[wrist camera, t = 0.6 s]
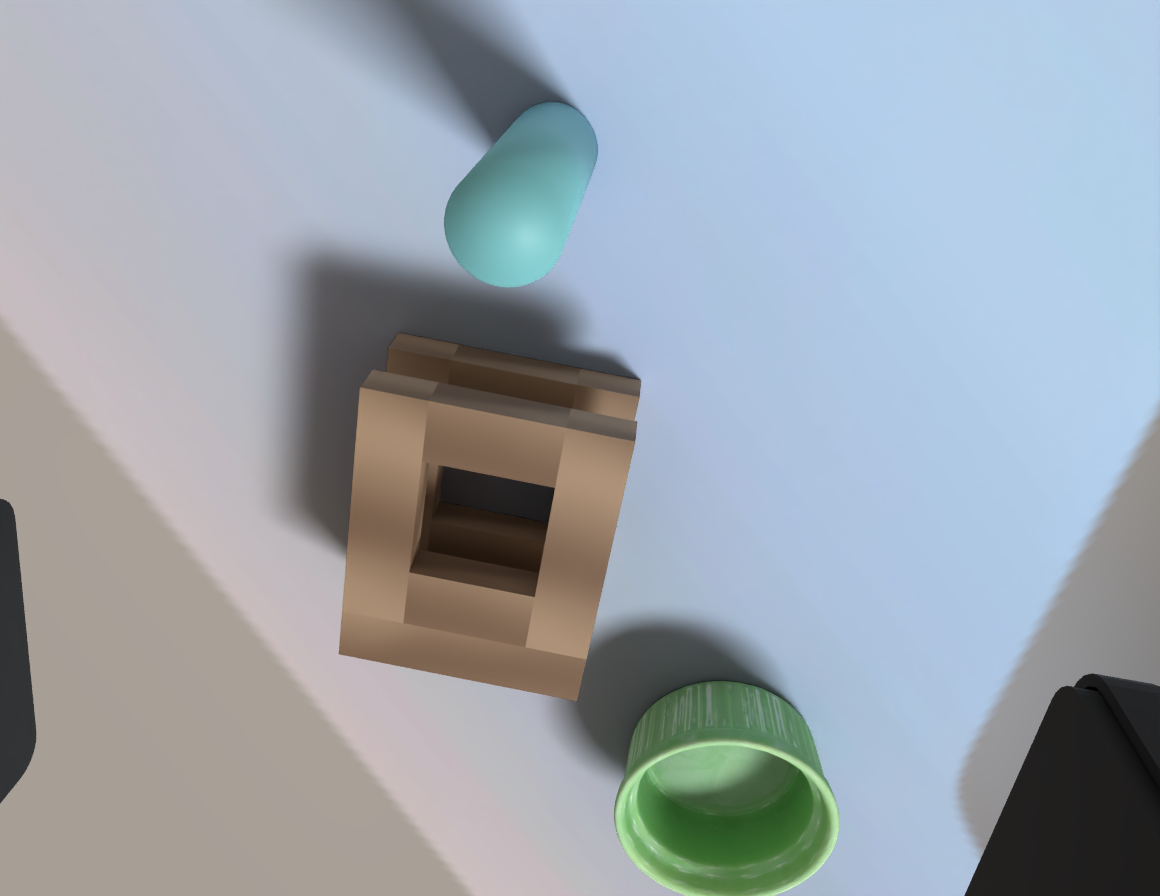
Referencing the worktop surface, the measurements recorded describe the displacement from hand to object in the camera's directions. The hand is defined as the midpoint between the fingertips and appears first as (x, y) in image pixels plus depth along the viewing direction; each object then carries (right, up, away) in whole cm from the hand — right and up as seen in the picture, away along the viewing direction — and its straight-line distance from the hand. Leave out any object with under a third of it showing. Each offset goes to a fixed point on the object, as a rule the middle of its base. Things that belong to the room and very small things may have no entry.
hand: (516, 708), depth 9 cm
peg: (0, +12, +24) cm, 27 cm away
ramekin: (+7, -11, +36) cm, 38 cm away
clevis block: (-2, +2, +30) cm, 30 cm away
